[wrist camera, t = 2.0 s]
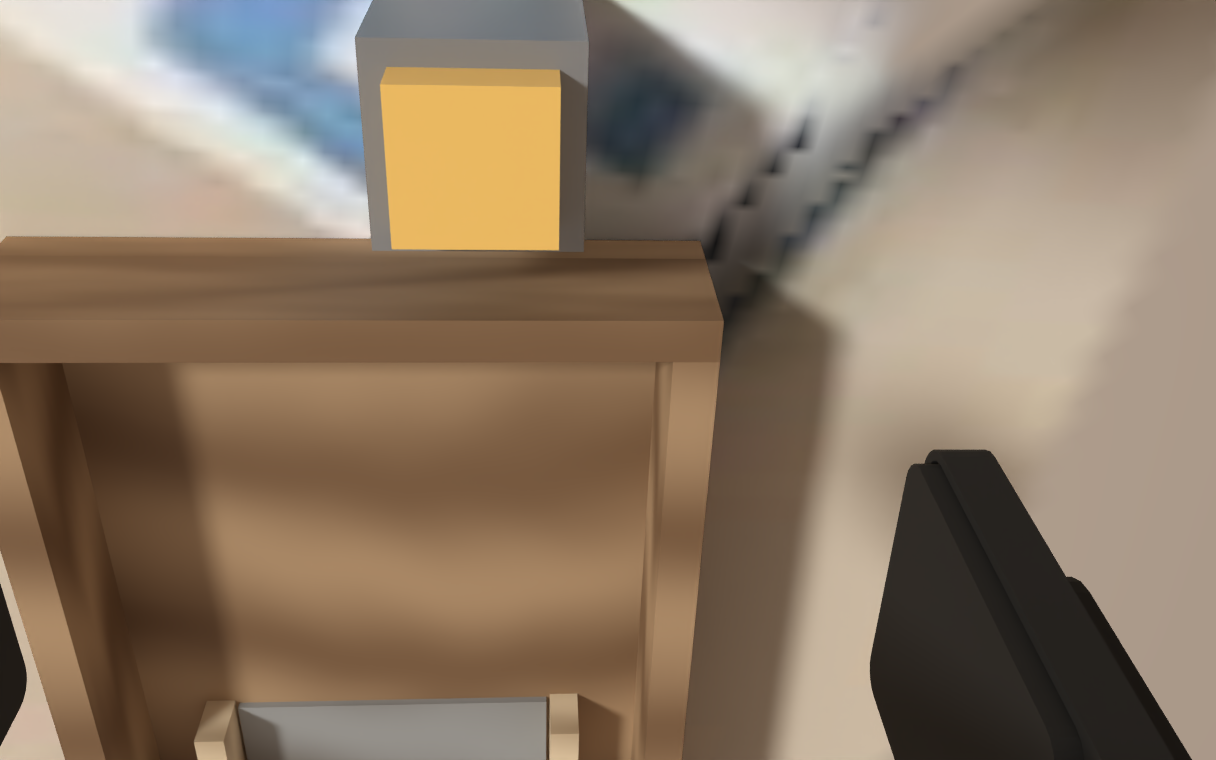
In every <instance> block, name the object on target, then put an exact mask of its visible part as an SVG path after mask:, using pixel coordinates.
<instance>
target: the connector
mask: <svg viewBox="0 0 1216 760" xmlns="http://www.w3.org/2000/svg"><path fill="white" fill-rule="evenodd" d="M355 45H356V57H357V70H358V82H359V95H360V107H361V119H362V132H363V144H364V157H365V169H366V181H367V194H368V206H369V219H370V231H371V243H372V251H499V252H584V222H585V181H586V139H587V97H588V56H589V39H588V33H587V26H586V20H585V13H584V7H583V0H373V1H372V3H371V5H370V7H369V9H368V11H367V13H366V15H365V17H364V19H363V22H362V24H361V26H360V28H359V30H358V32H357V34H356V36H355Z"/></svg>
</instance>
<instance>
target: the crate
mask: <svg viewBox="0 0 1216 760" xmlns="http://www.w3.org/2000/svg"><path fill="white" fill-rule="evenodd" d="M723 325H724V320H723V316H722V313H721V310H720V306H719V303H718V300H717V296H716V293H715V289H714V286H713V283H712V279H711V276H710V273H709V269H708V266H707V263H706V259H705V256H704V252H703V249H702V246H701V242H700V241H655V240H584V252H499V251H372V243H371V239H323V238H157V237H6V238H5V239H4V240H3V241H2V242H1V243H0V551H1V554H2V557H3V560H4V563H5V567H6V570H7V573H8V576H9V580H10V583H11V586H12V589H13V592H14V596H15V599H16V602H17V605H18V609H19V612H20V615H21V618H22V621H23V625H24V628H25V631H26V634H27V638H28V641H29V644H30V647H31V651H32V654H33V657H34V660H35V663H36V667H37V670H38V673H39V676H40V680H41V683H42V686H43V689H44V692H45V696H46V699H47V702H48V705H49V709H50V712H51V715H52V718H53V721H54V725H55V728H56V731H57V734H58V738H59V741H60V744H61V747H62V750H63V754H64V757H65V760H682V752H683V742H684V731H685V721H686V710H687V700H688V689H689V679H690V669H691V658H692V648H693V637H694V627H695V617H696V606H697V596H698V585H699V575H700V565H701V554H702V544H703V533H704V523H705V512H706V502H707V492H708V481H709V471H710V460H711V450H712V440H713V429H714V419H715V408H716V398H717V388H718V377H719V367H720V356H721V346H722V335H723Z"/></svg>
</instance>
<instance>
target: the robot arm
mask: <svg viewBox="0 0 1216 760" xmlns="http://www.w3.org/2000/svg"><path fill="white" fill-rule="evenodd" d="M870 680H871V686H872V691H873V695H874V698H875V701H876V704H877V707H878V710H879V713H880V716H881V719H882V722H883V725H884V728H885V731H886V735H887V738H888V741H889V744H890V747H891V750H892V753H893V756H894V759H895V760H1192V759H1191V758H1190V756H1189V754H1188V753H1187V751H1186V749H1185V748H1184V746H1183V744H1182V743H1181V741H1180V740H1179V738H1178V736H1177V735H1176V733H1175V731H1174V730H1173V728H1172V726H1171V725H1170V723H1169V721H1168V720H1167V718H1166V716H1165V715H1164V713H1163V712H1162V710H1161V709H1160V707H1159V705H1158V703H1157V702H1156V700H1155V698H1154V697H1153V695H1152V694H1151V692H1150V691H1149V689H1148V687H1147V685H1146V684H1145V682H1144V680H1143V679H1142V677H1141V676H1140V674H1139V672H1138V671H1137V669H1136V667H1135V666H1134V664H1133V663H1132V661H1131V659H1130V657H1129V656H1128V654H1127V653H1126V651H1125V649H1124V648H1123V646H1122V644H1121V643H1120V641H1119V639H1118V638H1117V636H1116V635H1115V633H1114V631H1113V630H1112V628H1111V626H1110V625H1109V623H1108V622H1107V620H1106V618H1105V617H1104V615H1103V613H1102V612H1101V610H1100V609H1099V607H1098V605H1097V603H1096V602H1095V600H1094V599H1093V597H1092V595H1091V594H1090V592H1089V591H1088V590H1087V588H1086V587H1085V586H1084V585H1083V584H1082V582H1081V581H1079V580H1077V579H1075V578H1073V577H1066V576H1065V574H1064V573H1063V571H1062V569H1061V568H1060V566H1059V564H1058V562H1057V561H1056V559H1055V558H1054V556H1053V554H1052V552H1051V551H1050V549H1049V547H1048V546H1047V544H1046V542H1045V541H1044V539H1043V537H1042V536H1041V534H1040V532H1039V531H1038V529H1037V527H1036V525H1035V524H1034V522H1033V520H1032V519H1031V517H1030V515H1029V514H1028V512H1027V510H1026V509H1025V507H1024V505H1023V504H1022V502H1021V500H1020V499H1019V497H1018V495H1017V493H1016V492H1015V490H1014V488H1013V487H1012V485H1011V483H1010V482H1009V480H1008V478H1007V477H1006V475H1005V473H1004V472H1003V470H1002V468H1001V467H1000V465H999V463H998V462H997V460H996V458H995V457H994V455H993V454H992V453H991V452H990V451H987V450H933V451H931V452H930V453H929V454H928V456H927V458H926V460H925V464H913V465H911V467H910V468H909V470H908V473H907V477H906V482H905V487H904V492H903V497H902V502H901V507H900V512H899V517H898V522H897V527H896V532H895V537H894V542H893V547H892V552H891V557H890V562H889V567H888V572H887V577H886V582H885V587H884V593H883V598H882V603H881V608H880V613H879V618H878V623H877V628H876V633H875V638H874V643H873V648H872V653H871V659H870ZM26 683H27V674H26V667H25V663H24V660H23V657H22V653H21V650H20V647H19V643H18V640H17V637H16V634H15V630H14V627H13V624H12V621H11V617H10V614H9V611H8V607H7V604H6V601H5V598H4V594H3V591H2V588H1V584H0V746H1V744H2V742H3V740H4V738H5V736H6V734H7V732H8V730H9V728H10V726H11V724H12V722H13V721H14V719H15V717H16V715H17V713H18V711H19V709H20V707H21V704H22V702H23V699H24V695H25V691H26Z"/></svg>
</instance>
